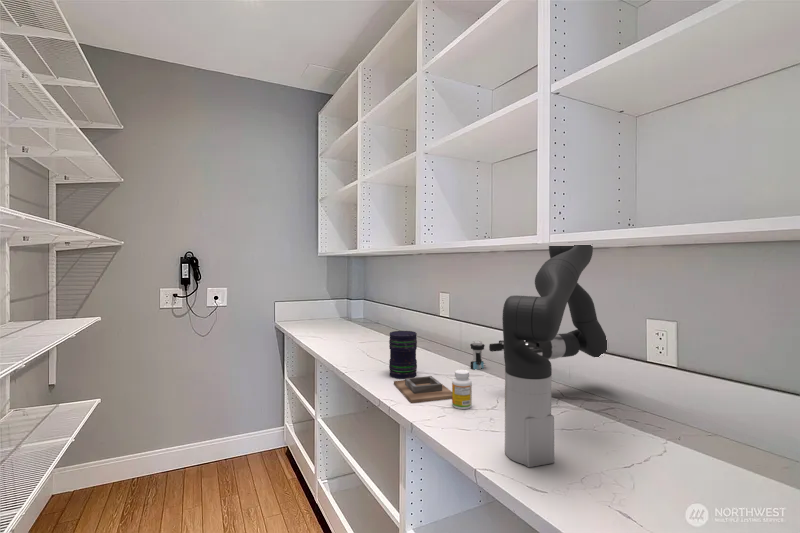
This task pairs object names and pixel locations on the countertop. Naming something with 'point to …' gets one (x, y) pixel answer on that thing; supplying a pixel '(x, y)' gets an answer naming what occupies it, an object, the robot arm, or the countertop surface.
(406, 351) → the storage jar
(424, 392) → the dock board
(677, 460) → the countertop surface
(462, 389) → the supplement bottle
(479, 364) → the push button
